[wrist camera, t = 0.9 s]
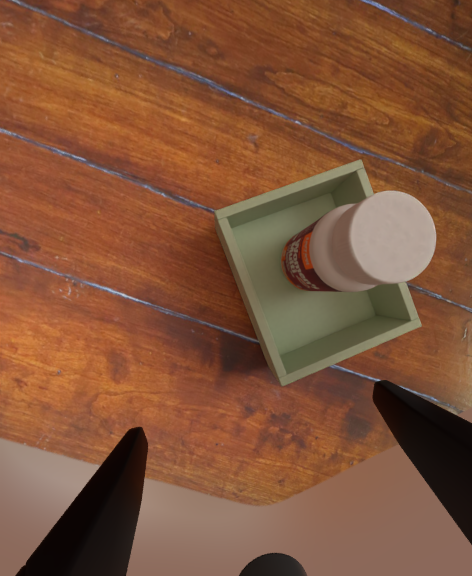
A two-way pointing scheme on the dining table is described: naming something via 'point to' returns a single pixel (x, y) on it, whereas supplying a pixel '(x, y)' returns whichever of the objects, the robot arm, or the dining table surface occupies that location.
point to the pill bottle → (362, 245)
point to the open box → (299, 303)
